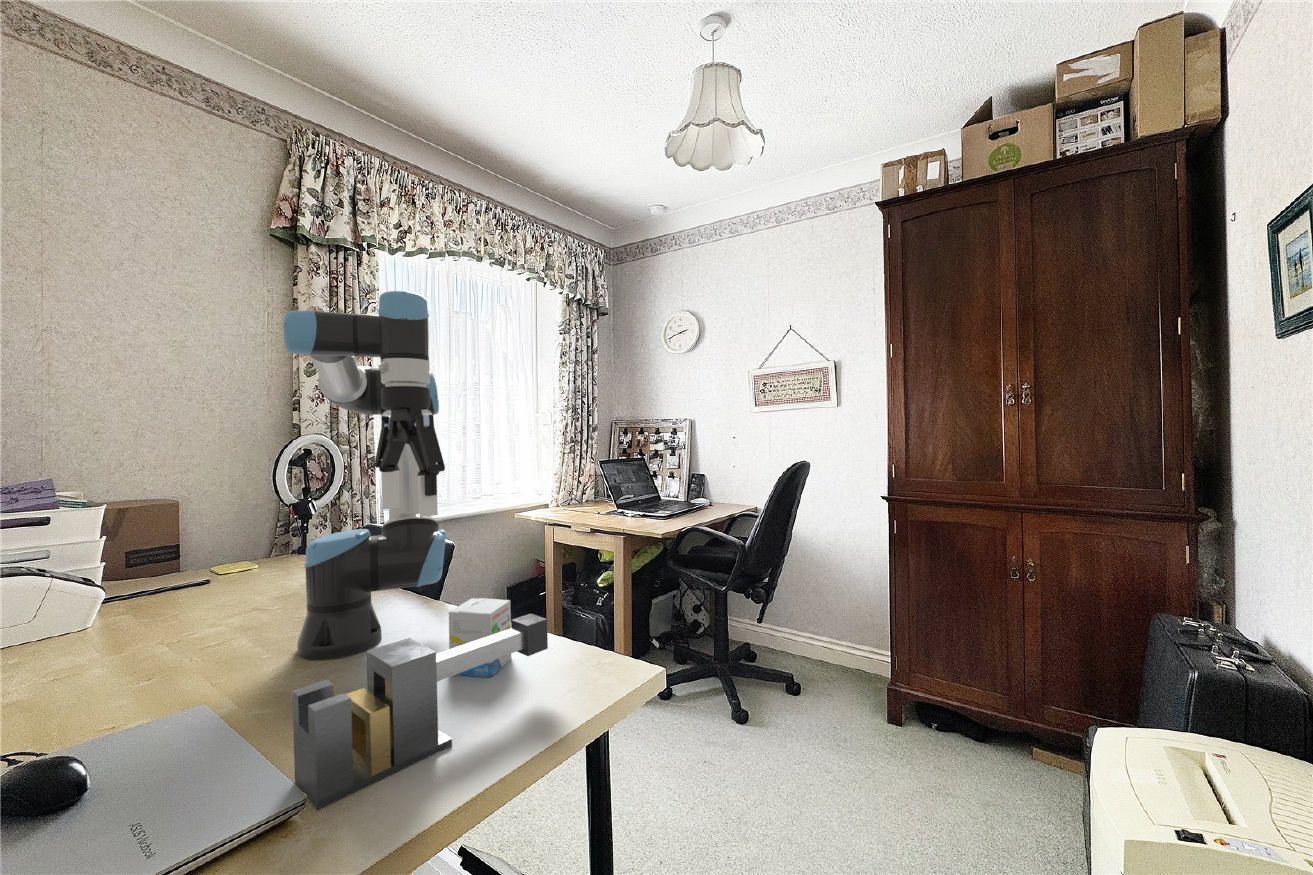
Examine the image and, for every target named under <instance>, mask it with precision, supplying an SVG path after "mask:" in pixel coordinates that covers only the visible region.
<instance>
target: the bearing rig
mask: <svg viewBox="0 0 1313 875" xmlns="http://www.w3.org/2000/svg"><path fill="white" fill-rule="evenodd" d="M365 651H366V652H365V653H366V654H365V655H366V683H367V684H366V687H367V689H366V690H367V691H368V692H369V693H371V694H372V695H374V696H375V697H377V698H378V699H380V700H381V701H383V702H384V703H385V704H387V705H388V706H389V713H390V751H391V767H390V768H388V769H386V770H384V771H382V772H380V773H378V774H376V775H374V776H371V775H369V774H368V773H367V772H366V771H365V770H364V769H363V768H362V767H361V766H360V765H359V764H357V763H356V762H355V761H354V760H353V749H352V713H351V698H350V697H349V696H348V695H346V694H347V693H346V692H342V693H340V694H337V695H335V696H334V683H332V681H330V680H329V679H325V680H321V681H319V682H315V683H313V684H308V685H305V686H303V687H300V688H296V689H294V690H292V692H291V694H292V723H293V724H292V726H293V727H292V728H293V729H292V730H293V756H294V757H293V758H294V759H293V760H294V762H293V764H294V783H295V784H296V786H297V787H298V788H299V789H300V790H302V791H301V792H302V793H303V792H304V793H305V794H306V795H307V797H306V798H307V799H308V801H309V802H310V804H312V805H313V807H314V809H315V810H316V811H320V810H321V809H324V808H325V807H328V806H330V805H332V804H334V803H336V802H338V801H340V800H342V799H344V798H346V797H349V796H351V795H352V794H355V793H356V792H358V791H361V790H363V789H365V788H367V787H369V786H371V785H373V784H375V783H378V782H379V781H382V780H384V779H385V778H388V777H390V776H392V775H394V774H396V773H399V772H400V771H402V770H404V769H407V768H408V767H410V766H414V765H415V764H416V763H418V762H421V761H423V760H425V759H427V758H430V757H431V756H434V755H436V754H438V753H440V752H443V750H446V749H448V748H450V747H452V746H453V739H452V737H451V736H448V735H447V734H446V733H444V732H443V731H442V730H440V729H439V721H438V720H439V719H438V718H439V717H438V716H439V714H438V713H439V712H438V681H437V666H436V654H437V651H436V650H434V649H431V648H429V647H428V646H425V645H424V644H422V643H420V642H418V641H416V640H413V639H412V638H411V637H408V638H405V639H401V640H398V641H395V642H392V643H388V644H385V645H381V646H379V647H375V648H374V647H373V648H370V649H367V650H365ZM304 793H303V794H304ZM305 794H304V795H305Z"/></svg>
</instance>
